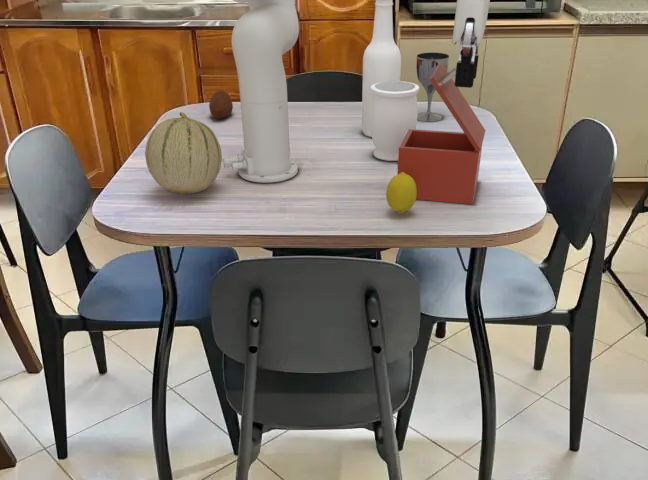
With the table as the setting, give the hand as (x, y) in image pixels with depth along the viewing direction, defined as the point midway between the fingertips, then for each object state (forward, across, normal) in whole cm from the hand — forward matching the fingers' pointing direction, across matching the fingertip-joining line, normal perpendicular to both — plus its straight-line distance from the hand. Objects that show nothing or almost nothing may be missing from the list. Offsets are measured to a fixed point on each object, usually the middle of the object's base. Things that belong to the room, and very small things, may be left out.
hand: (465, 81), depth 123 cm
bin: (+21, 0, -3) cm, 21 cm away
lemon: (+21, +13, -8) cm, 26 cm away
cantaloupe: (+22, +12, -52) cm, 58 cm away
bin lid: (+5, 0, -1) cm, 5 cm away
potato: (+22, -38, -65) cm, 79 cm away
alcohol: (+21, -33, -22) cm, 45 cm away
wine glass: (+21, -49, -12) cm, 55 cm away
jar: (+21, -18, -16) cm, 32 cm away
